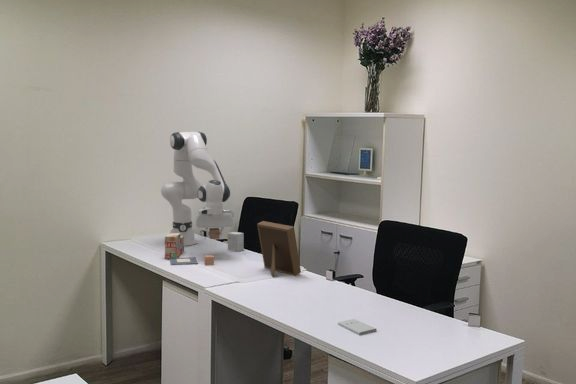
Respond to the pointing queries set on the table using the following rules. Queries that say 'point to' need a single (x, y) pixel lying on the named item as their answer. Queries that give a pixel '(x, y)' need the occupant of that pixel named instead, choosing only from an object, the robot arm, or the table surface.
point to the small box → (235, 241)
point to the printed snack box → (173, 245)
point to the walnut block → (214, 233)
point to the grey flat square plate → (183, 261)
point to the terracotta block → (209, 260)
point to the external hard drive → (357, 326)
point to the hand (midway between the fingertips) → (214, 234)
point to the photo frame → (279, 248)
